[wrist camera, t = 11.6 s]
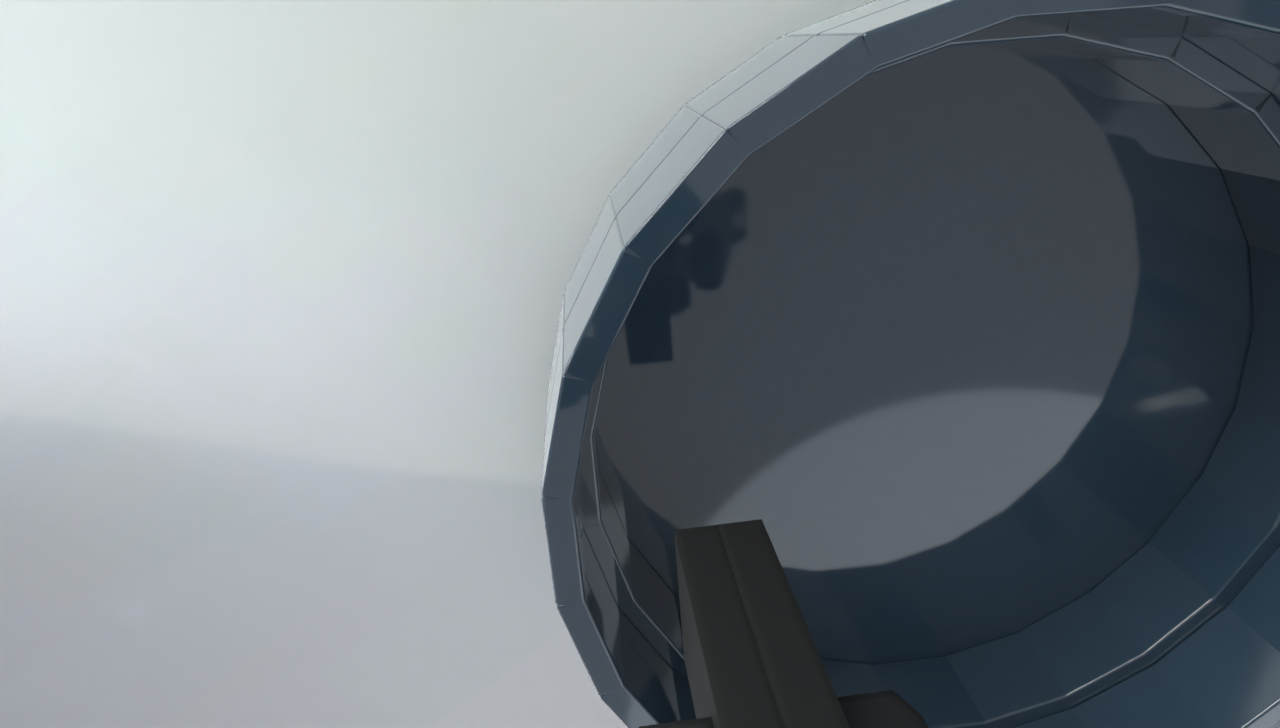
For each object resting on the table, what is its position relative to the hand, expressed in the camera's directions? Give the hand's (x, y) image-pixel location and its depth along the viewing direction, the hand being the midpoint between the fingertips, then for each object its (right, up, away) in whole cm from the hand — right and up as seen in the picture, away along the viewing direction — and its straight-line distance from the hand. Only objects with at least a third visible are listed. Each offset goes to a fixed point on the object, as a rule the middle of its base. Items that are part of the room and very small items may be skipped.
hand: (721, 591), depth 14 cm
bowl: (+6, +3, +8) cm, 10 cm away
